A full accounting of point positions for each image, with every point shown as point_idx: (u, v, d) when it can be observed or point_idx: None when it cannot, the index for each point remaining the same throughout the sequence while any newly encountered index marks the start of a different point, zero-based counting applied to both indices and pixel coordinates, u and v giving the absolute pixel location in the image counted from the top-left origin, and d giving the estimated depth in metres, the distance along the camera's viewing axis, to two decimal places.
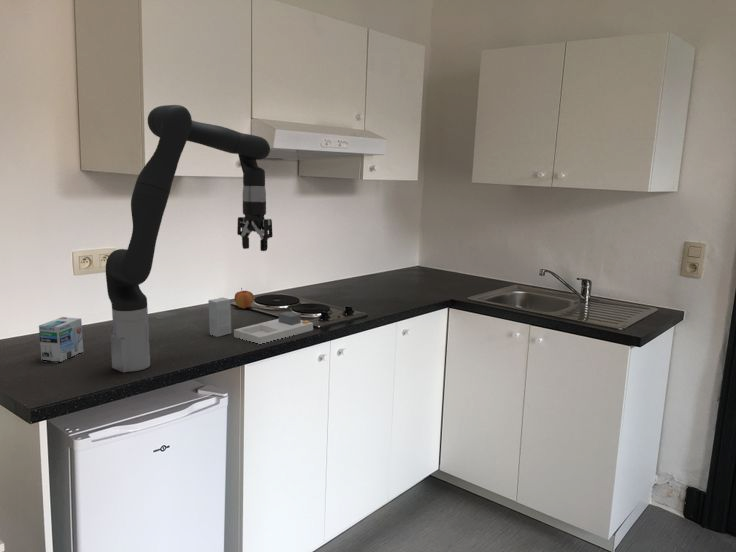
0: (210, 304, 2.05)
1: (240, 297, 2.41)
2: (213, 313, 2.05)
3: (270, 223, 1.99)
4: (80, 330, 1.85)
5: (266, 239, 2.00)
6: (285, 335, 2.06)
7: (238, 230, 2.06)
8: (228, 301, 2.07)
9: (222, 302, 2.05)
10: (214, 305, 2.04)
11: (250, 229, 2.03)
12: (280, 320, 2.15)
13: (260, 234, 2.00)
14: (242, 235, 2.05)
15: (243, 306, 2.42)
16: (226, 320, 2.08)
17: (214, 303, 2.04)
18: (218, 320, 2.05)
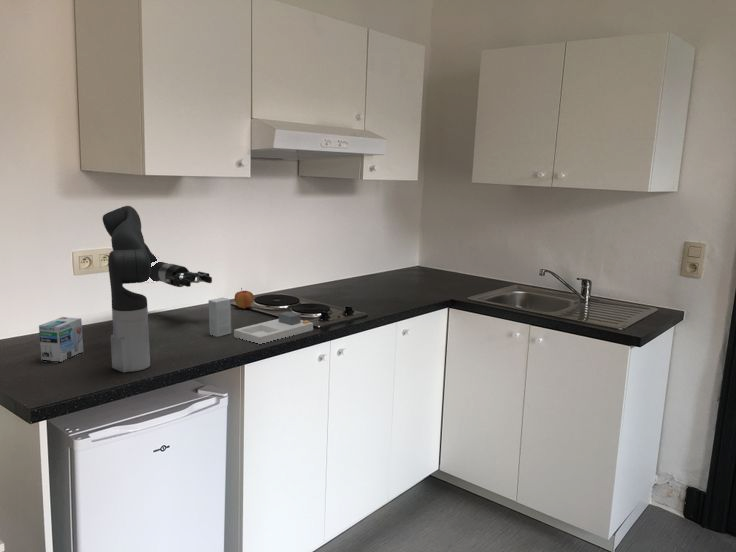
0: (210, 304, 2.05)
1: (240, 297, 2.41)
2: (213, 313, 2.05)
3: None
4: (80, 330, 1.85)
5: None
6: (285, 335, 2.06)
7: (173, 278, 2.12)
8: (228, 301, 2.07)
9: (222, 302, 2.05)
10: (214, 305, 2.04)
11: (187, 276, 2.16)
12: (280, 320, 2.15)
13: (201, 274, 2.19)
14: (181, 278, 2.12)
15: (243, 306, 2.42)
16: (226, 320, 2.08)
17: (214, 303, 2.04)
18: (218, 320, 2.05)
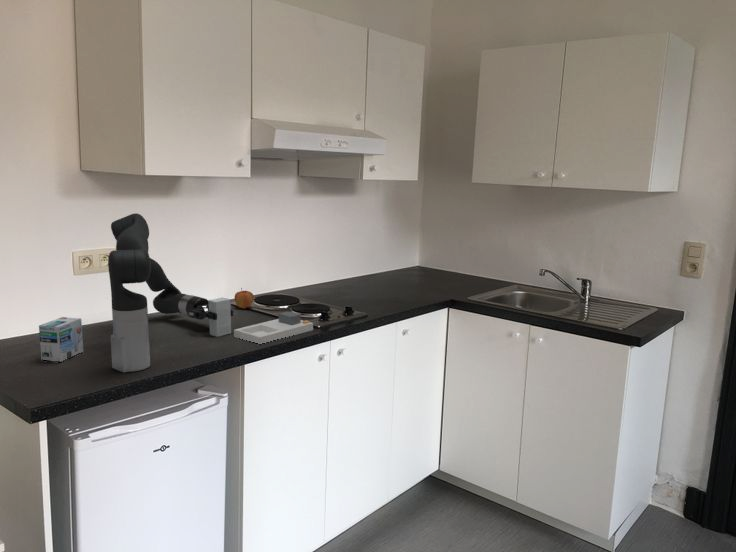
0: (210, 304, 2.05)
1: (240, 297, 2.41)
2: None
3: None
4: (80, 330, 1.85)
5: None
6: (285, 335, 2.06)
7: (199, 311, 2.05)
8: (228, 301, 2.07)
9: (222, 302, 2.05)
10: (214, 305, 2.04)
11: None
12: (280, 320, 2.15)
13: None
14: (207, 311, 2.06)
15: (243, 306, 2.42)
16: (226, 319, 2.08)
17: (214, 303, 2.04)
18: (218, 320, 2.05)
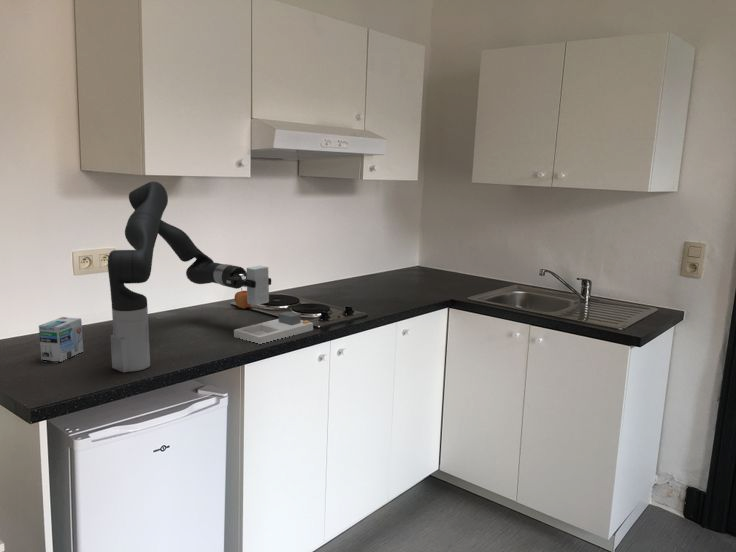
0: (248, 271, 2.00)
1: (240, 297, 2.41)
2: None
3: None
4: (80, 330, 1.85)
5: None
6: (285, 335, 2.06)
7: (237, 279, 2.00)
8: (266, 269, 2.02)
9: (260, 270, 2.01)
10: (253, 272, 1.99)
11: None
12: (280, 320, 2.15)
13: None
14: (245, 279, 2.01)
15: (243, 306, 2.42)
16: (264, 288, 2.03)
17: (253, 270, 1.99)
18: (257, 288, 2.00)
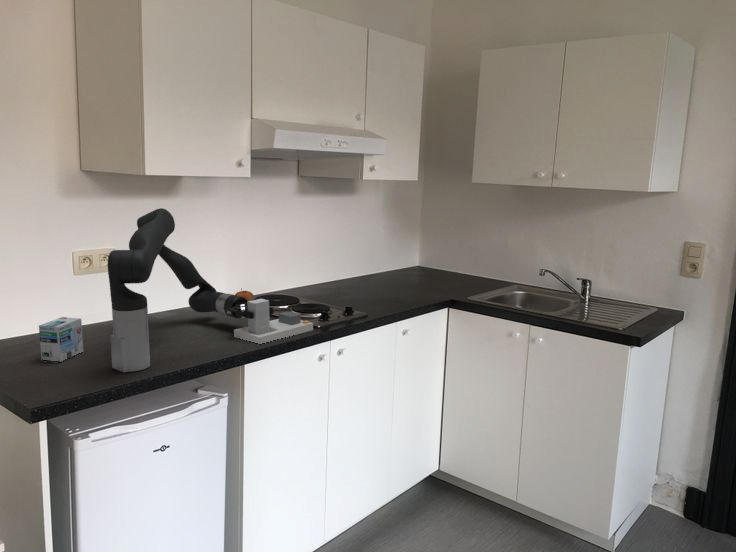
0: (249, 305, 2.02)
1: None
2: None
3: None
4: (80, 330, 1.85)
5: None
6: (285, 335, 2.06)
7: (235, 310, 2.02)
8: (267, 302, 2.04)
9: (261, 303, 2.02)
10: (253, 306, 2.01)
11: None
12: (280, 320, 2.15)
13: None
14: (243, 310, 2.02)
15: None
16: (265, 321, 2.04)
17: (253, 304, 2.01)
18: (258, 322, 2.02)
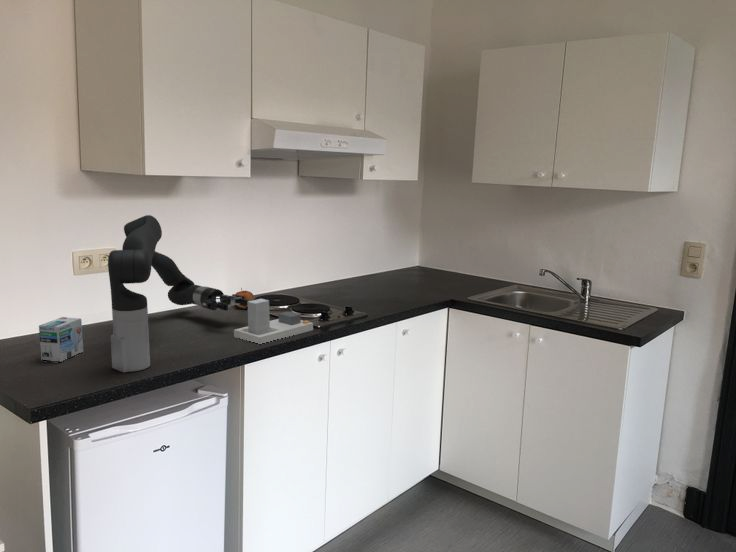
0: (249, 305, 2.02)
1: None
2: (252, 315, 2.02)
3: None
4: (80, 330, 1.85)
5: None
6: (285, 335, 2.06)
7: (210, 302, 2.10)
8: (267, 302, 2.04)
9: (261, 303, 2.02)
10: (253, 306, 2.01)
11: (223, 299, 2.15)
12: (280, 320, 2.15)
13: (236, 297, 2.18)
14: (218, 301, 2.11)
15: (243, 306, 2.42)
16: (265, 321, 2.04)
17: (253, 304, 2.01)
18: (258, 322, 2.02)
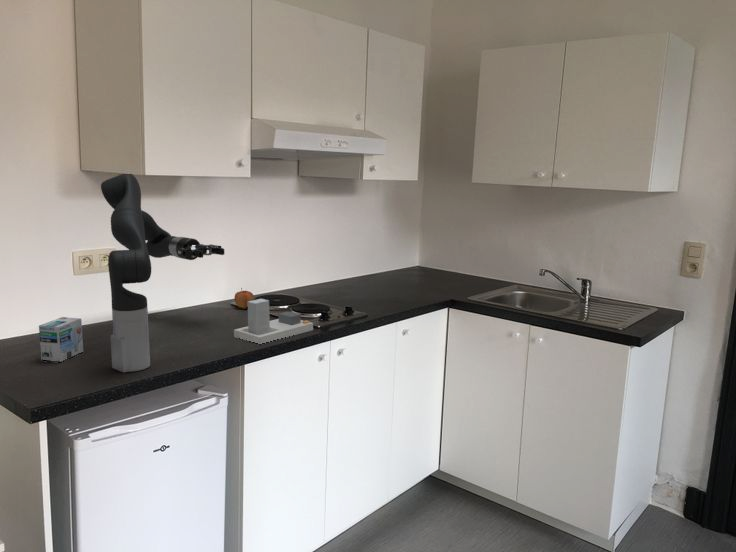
0: (249, 305, 2.02)
1: (240, 297, 2.41)
2: (252, 315, 2.02)
3: None
4: (80, 330, 1.85)
5: None
6: (285, 335, 2.06)
7: (185, 249, 2.06)
8: (267, 302, 2.04)
9: (261, 303, 2.02)
10: (253, 306, 2.01)
11: (199, 248, 2.11)
12: (280, 320, 2.15)
13: (213, 246, 2.13)
14: None
15: (243, 306, 2.42)
16: (265, 321, 2.04)
17: (253, 304, 2.01)
18: (258, 322, 2.02)
